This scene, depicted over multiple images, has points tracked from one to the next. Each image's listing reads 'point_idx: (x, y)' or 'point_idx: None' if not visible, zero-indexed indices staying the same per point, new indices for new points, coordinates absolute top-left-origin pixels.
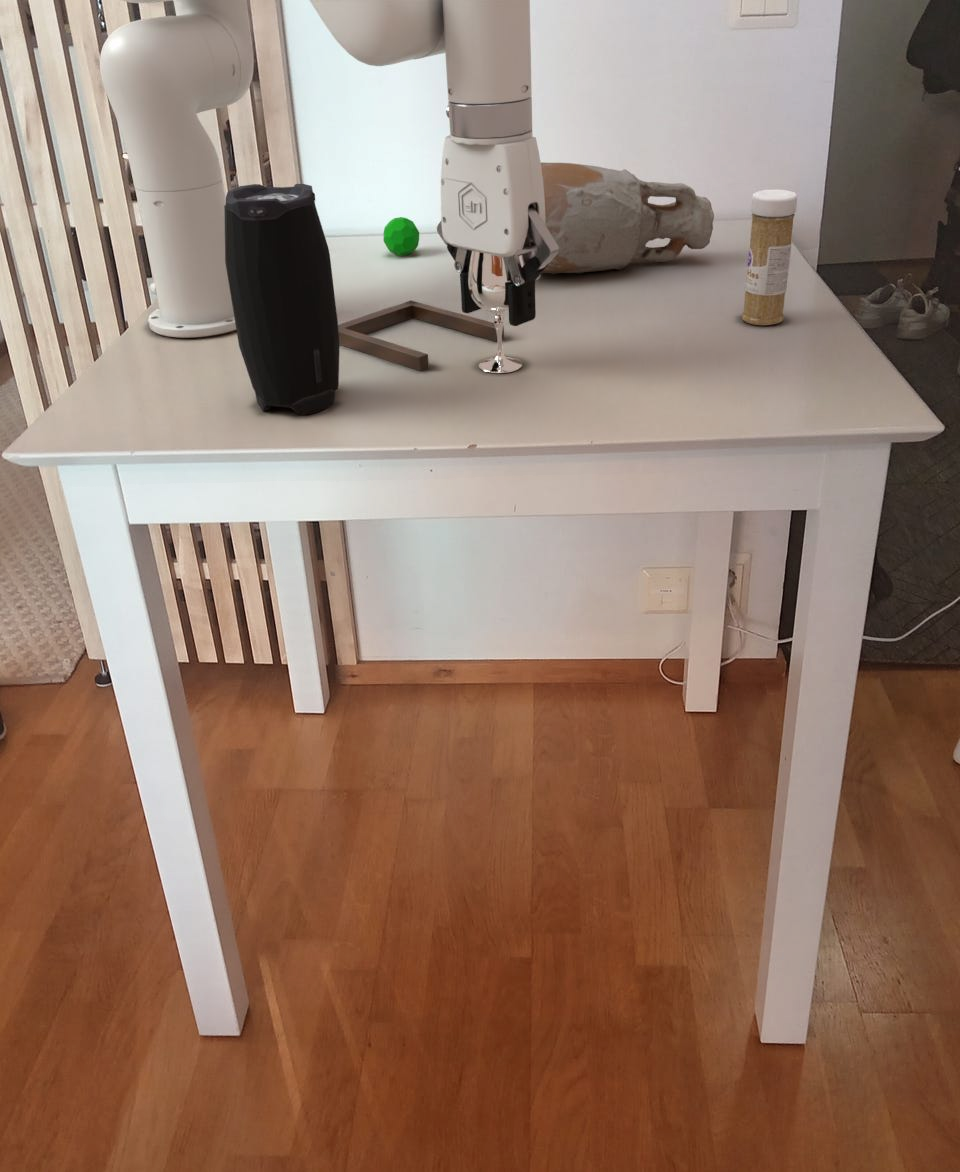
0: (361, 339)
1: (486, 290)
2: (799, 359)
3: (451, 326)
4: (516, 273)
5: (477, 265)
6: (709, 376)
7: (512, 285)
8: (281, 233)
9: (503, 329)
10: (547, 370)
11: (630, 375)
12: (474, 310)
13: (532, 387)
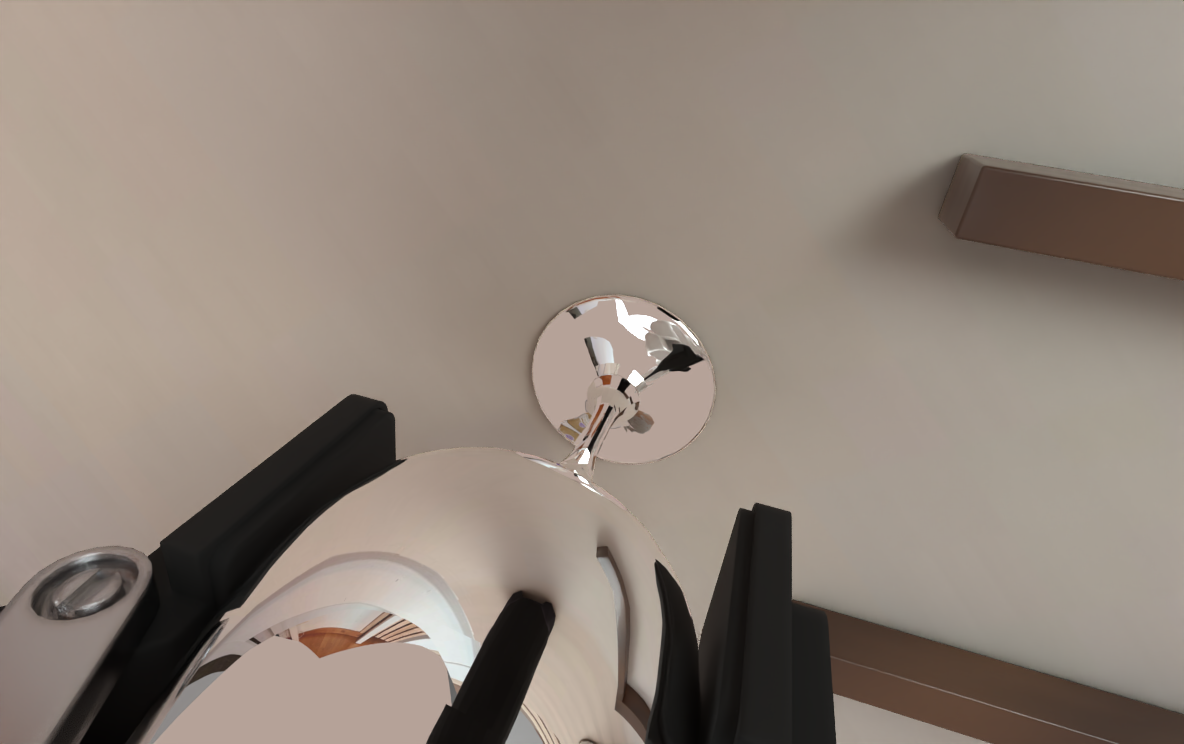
0: None
1: (379, 498)
2: None
3: (1093, 695)
4: (28, 624)
5: (347, 711)
6: (99, 514)
7: (168, 553)
8: None
9: None
10: (443, 407)
11: (227, 458)
12: (727, 549)
13: (374, 235)
